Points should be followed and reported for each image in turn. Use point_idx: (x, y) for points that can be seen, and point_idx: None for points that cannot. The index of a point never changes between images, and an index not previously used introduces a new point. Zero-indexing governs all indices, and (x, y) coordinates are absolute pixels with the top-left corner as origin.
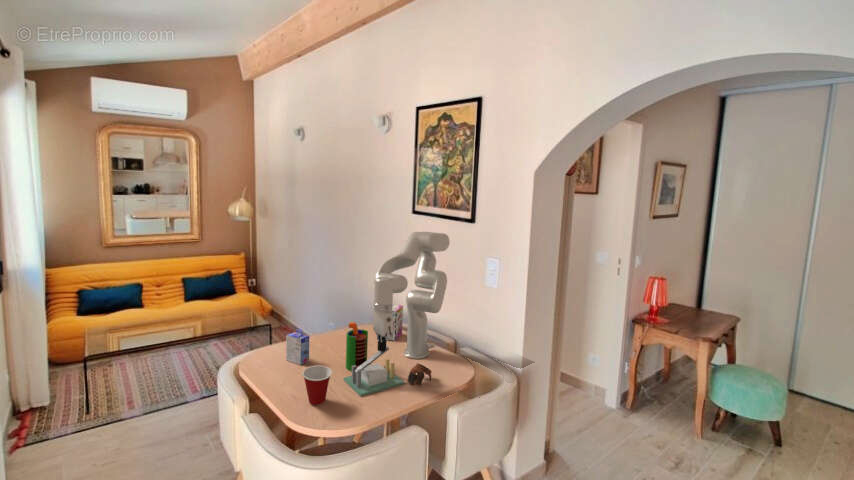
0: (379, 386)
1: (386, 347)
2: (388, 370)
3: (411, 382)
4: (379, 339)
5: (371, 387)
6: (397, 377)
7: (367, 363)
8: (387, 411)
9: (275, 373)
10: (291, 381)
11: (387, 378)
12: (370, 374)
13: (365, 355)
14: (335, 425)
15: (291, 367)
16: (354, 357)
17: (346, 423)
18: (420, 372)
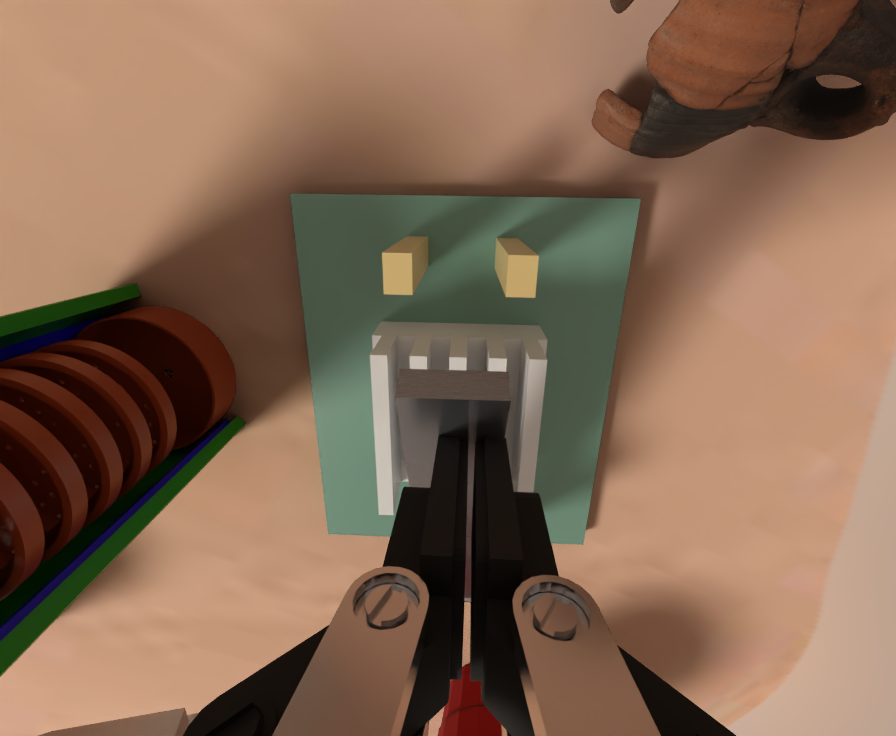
0: (575, 412)
1: (459, 414)
2: (424, 248)
3: (696, 147)
4: (429, 714)
5: (552, 460)
6: (534, 211)
7: None
8: (833, 494)
9: (119, 717)
10: None
11: (500, 298)
12: None
13: (122, 361)
14: (725, 700)
15: (66, 656)
16: (175, 494)
17: (750, 669)
18: (885, 40)
